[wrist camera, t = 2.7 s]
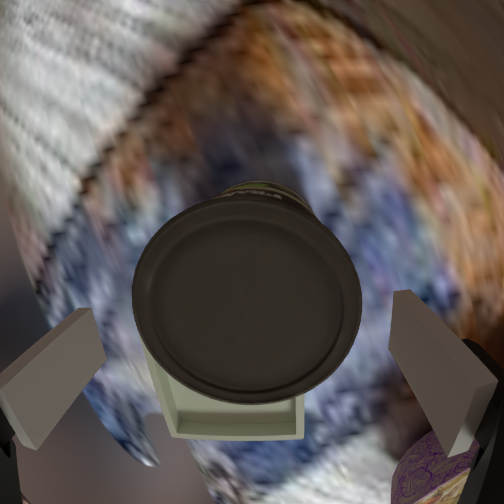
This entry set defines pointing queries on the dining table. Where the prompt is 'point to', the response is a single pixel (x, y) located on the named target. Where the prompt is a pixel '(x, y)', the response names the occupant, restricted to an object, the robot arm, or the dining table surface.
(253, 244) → the coffee can
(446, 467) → the bowl of food
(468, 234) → the dining table surface
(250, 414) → the tray
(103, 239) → the dining table surface
